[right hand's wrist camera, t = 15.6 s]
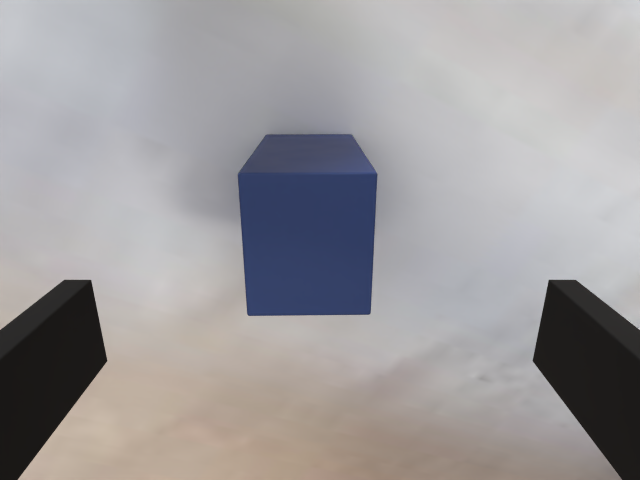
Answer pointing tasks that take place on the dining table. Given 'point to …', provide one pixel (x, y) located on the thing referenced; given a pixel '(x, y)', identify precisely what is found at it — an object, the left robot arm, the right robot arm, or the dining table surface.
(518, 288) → the dining table surface
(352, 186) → the brick
